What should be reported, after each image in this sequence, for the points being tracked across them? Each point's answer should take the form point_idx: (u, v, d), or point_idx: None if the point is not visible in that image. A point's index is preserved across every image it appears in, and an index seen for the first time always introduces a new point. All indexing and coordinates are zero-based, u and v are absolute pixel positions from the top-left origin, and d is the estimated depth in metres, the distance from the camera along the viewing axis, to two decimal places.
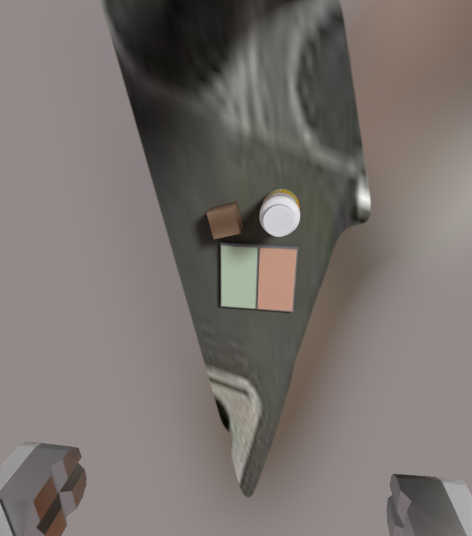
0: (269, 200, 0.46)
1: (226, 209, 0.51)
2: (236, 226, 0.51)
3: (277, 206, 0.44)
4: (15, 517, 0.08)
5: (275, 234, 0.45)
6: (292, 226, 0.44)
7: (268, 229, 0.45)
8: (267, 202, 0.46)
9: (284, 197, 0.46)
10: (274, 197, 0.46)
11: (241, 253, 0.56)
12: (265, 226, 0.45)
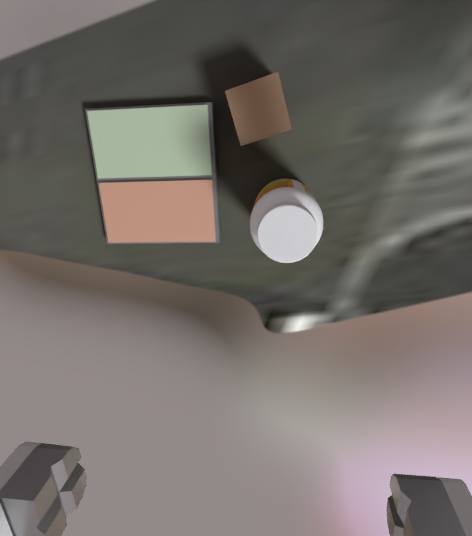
0: (316, 206, 0.25)
1: (286, 115, 0.26)
2: (254, 138, 0.27)
3: (316, 230, 0.23)
4: (15, 517, 0.08)
5: (261, 230, 0.24)
6: (278, 259, 0.24)
7: (270, 216, 0.23)
8: (313, 203, 0.25)
9: (321, 232, 0.26)
10: (321, 214, 0.26)
11: (197, 146, 0.31)
12: (276, 210, 0.23)
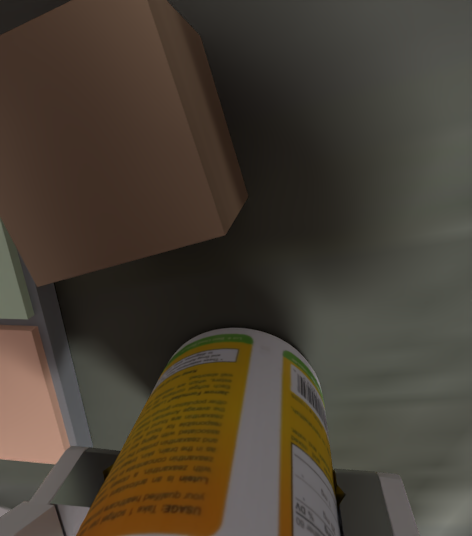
0: None
1: (197, 180, 0.06)
2: (80, 262, 0.07)
3: None
4: (69, 524, 0.08)
5: None
6: None
7: None
8: None
9: None
10: None
11: None
12: None
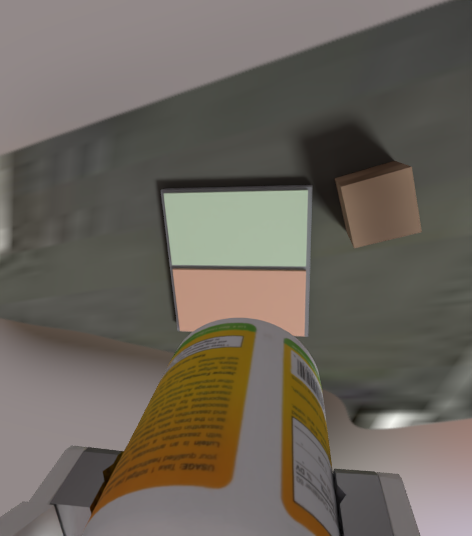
0: None
1: (416, 216, 0.22)
2: (372, 240, 0.22)
3: None
4: (69, 524, 0.08)
5: None
6: None
7: None
8: None
9: None
10: None
11: (292, 235, 0.26)
12: None
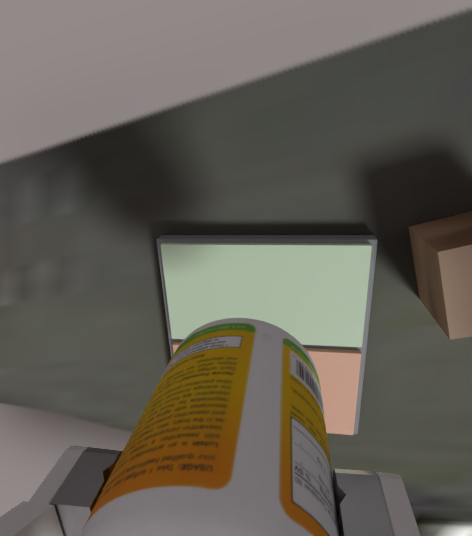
0: None
1: None
2: None
3: None
4: (69, 524, 0.08)
5: None
6: None
7: None
8: None
9: None
10: None
11: (344, 305, 0.18)
12: None
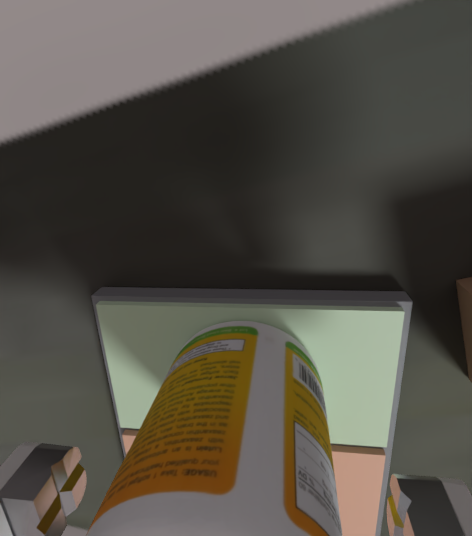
0: None
1: None
2: None
3: None
4: (15, 517, 0.08)
5: None
6: None
7: None
8: None
9: None
10: None
11: (362, 392, 0.13)
12: None
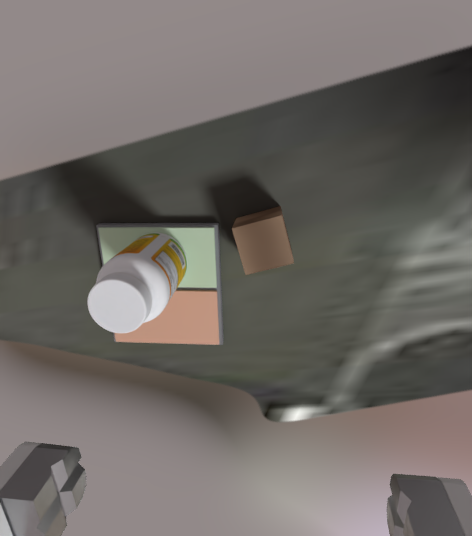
0: (157, 274, 0.25)
1: (288, 251, 0.28)
2: (258, 269, 0.29)
3: (144, 303, 0.23)
4: (15, 517, 0.08)
5: (91, 302, 0.23)
6: (112, 330, 0.24)
7: (97, 289, 0.23)
8: (153, 271, 0.25)
9: (166, 298, 0.26)
10: (164, 281, 0.26)
11: (203, 262, 0.32)
12: (102, 284, 0.23)
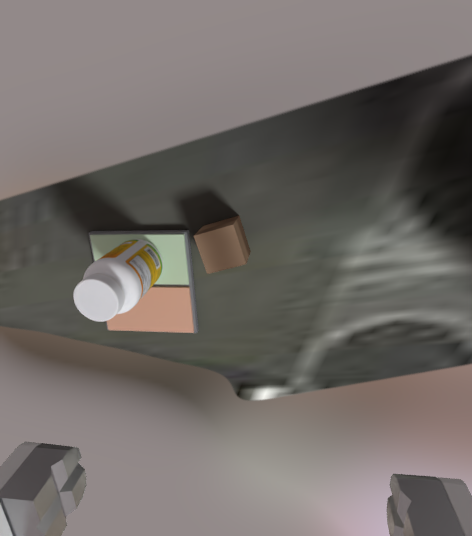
0: (129, 274, 0.31)
1: (241, 254, 0.34)
2: (217, 269, 0.35)
3: (116, 298, 0.30)
4: (15, 517, 0.08)
5: (76, 297, 0.30)
6: (93, 318, 0.31)
7: (80, 287, 0.30)
8: (126, 272, 0.31)
9: (138, 293, 0.32)
10: (135, 280, 0.32)
11: (177, 263, 0.38)
12: (83, 282, 0.29)
